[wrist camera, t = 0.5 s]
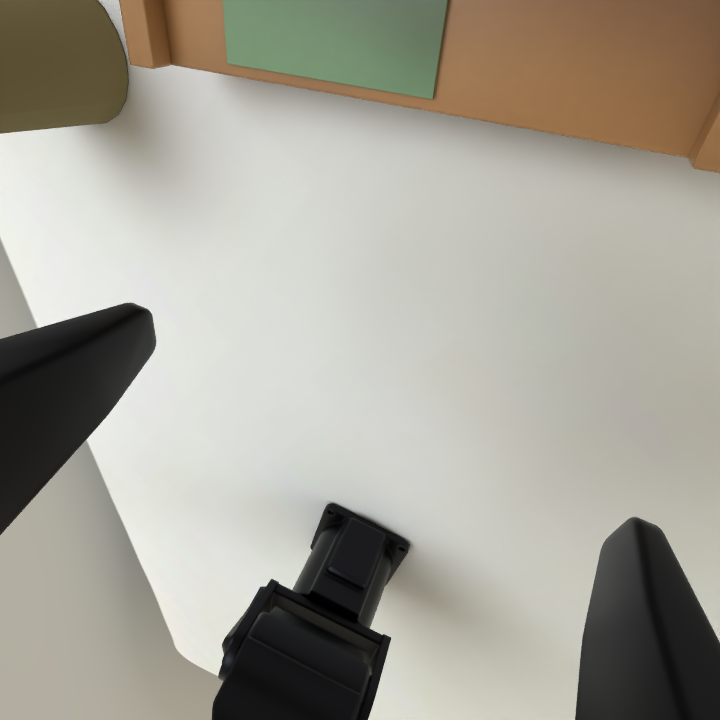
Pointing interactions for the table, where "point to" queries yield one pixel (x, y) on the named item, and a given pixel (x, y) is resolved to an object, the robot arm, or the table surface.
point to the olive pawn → (58, 65)
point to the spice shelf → (470, 59)
